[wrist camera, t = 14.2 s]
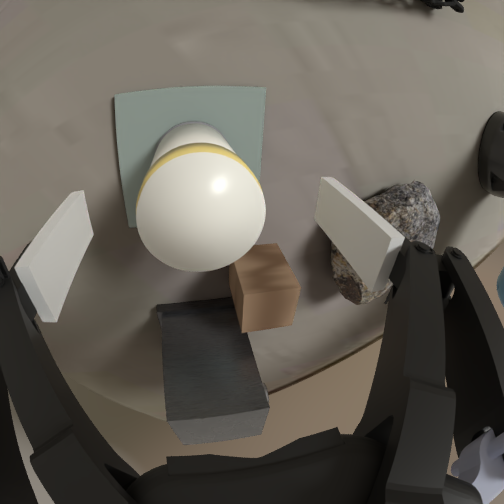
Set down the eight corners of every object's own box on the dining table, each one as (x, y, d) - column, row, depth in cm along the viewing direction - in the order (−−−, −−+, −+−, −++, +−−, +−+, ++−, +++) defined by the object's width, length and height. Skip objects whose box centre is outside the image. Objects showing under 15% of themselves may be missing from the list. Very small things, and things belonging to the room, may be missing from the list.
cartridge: (230, 119, 20) (273, 152, 11) (228, 189, 23) (262, 267, 15) (152, 123, 18) (125, 159, 10) (157, 194, 22) (145, 278, 13)
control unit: (246, 295, 32) (281, 403, 21) (243, 344, 37) (269, 433, 26) (156, 304, 29) (160, 419, 18) (170, 353, 35) (180, 446, 24)
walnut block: (276, 243, 29) (301, 287, 23) (271, 279, 31) (291, 325, 26) (229, 247, 27) (243, 294, 22) (229, 284, 30) (241, 332, 25)
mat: (264, 87, 19) (266, 87, 19) (255, 215, 26) (257, 217, 26) (116, 94, 16) (114, 94, 16) (129, 225, 23) (129, 227, 23)
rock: (416, 168, 27) (310, 209, 28) (452, 189, 22) (338, 241, 23) (415, 246, 35) (329, 288, 35) (442, 272, 30) (349, 323, 30)
